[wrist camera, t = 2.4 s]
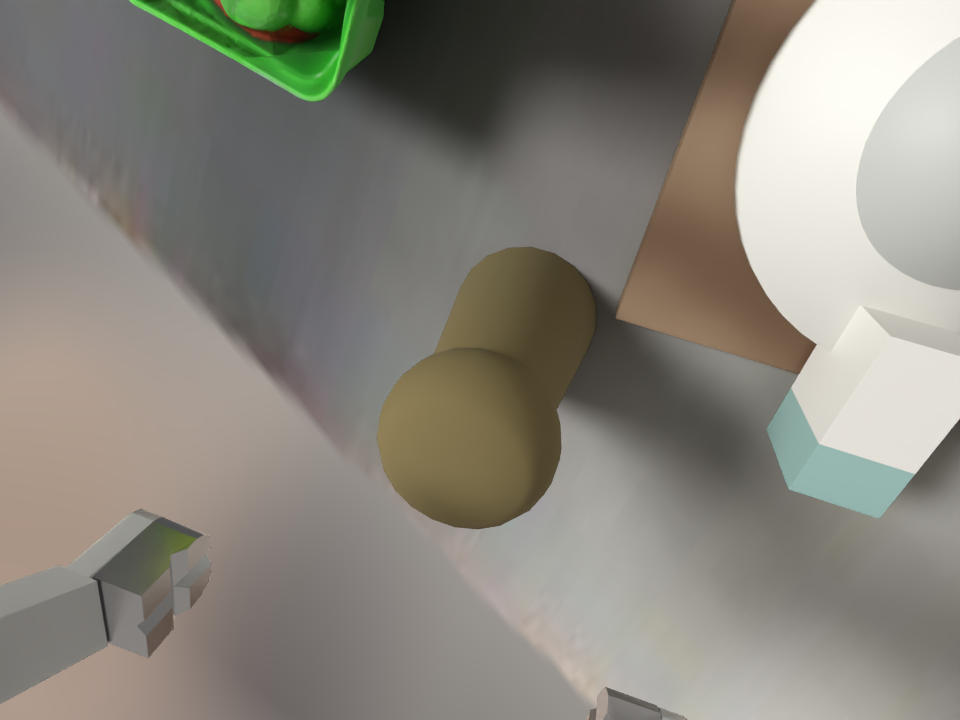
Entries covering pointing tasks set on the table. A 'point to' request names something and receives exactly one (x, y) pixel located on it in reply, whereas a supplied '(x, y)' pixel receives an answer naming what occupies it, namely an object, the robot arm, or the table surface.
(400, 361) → the table surface
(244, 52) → the fruit basket
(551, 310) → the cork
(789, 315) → the white oval plate
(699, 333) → the wooden board
